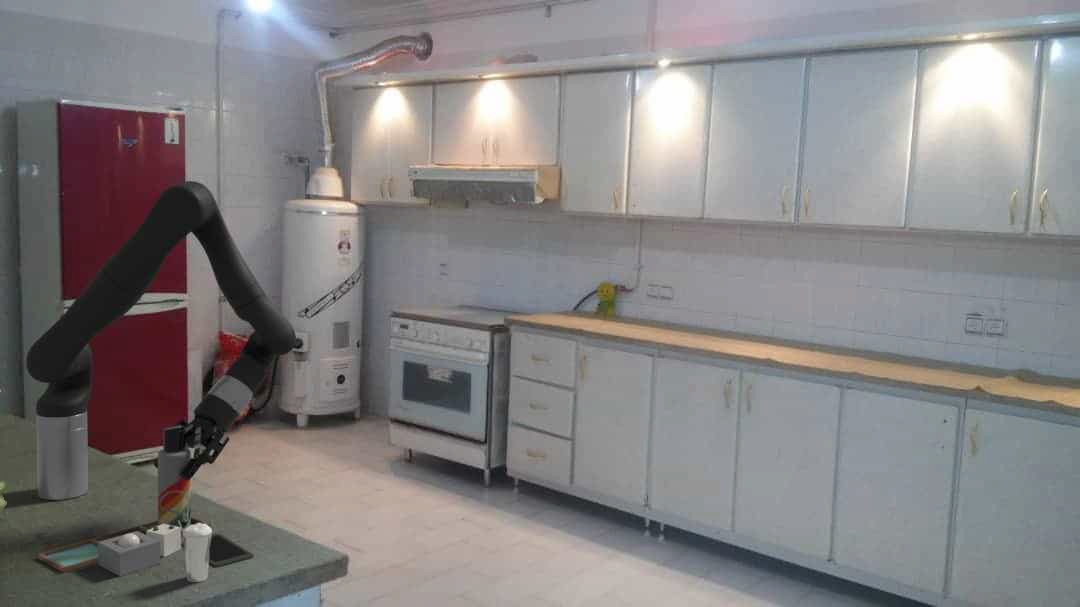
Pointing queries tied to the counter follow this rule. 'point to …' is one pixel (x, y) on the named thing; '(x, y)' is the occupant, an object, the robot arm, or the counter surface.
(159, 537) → the die
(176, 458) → the lotion bottle
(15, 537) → the counter surface
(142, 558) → the button box
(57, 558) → the track
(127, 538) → the dome
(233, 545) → the cell phone
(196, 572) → the milkshake
